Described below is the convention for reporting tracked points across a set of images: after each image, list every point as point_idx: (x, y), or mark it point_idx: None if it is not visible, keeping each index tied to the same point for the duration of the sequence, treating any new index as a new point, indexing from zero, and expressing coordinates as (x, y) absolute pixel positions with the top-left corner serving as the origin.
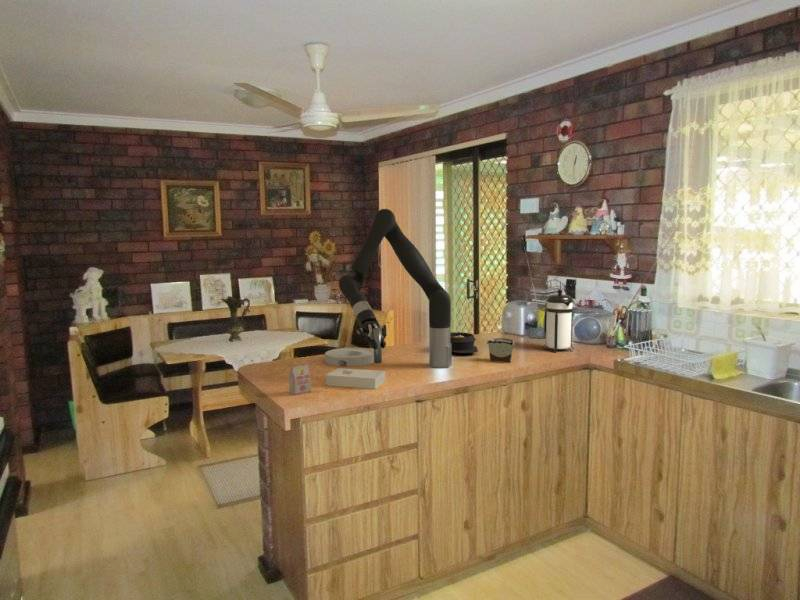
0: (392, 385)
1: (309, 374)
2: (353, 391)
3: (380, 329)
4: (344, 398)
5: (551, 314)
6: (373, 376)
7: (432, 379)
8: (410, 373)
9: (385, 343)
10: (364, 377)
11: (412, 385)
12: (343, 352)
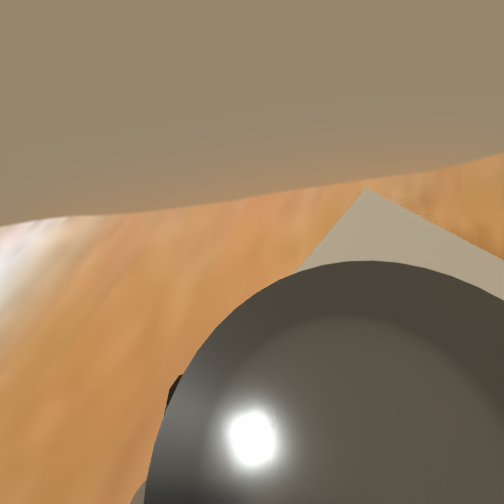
0: (263, 240)
1: None
2: (454, 220)
3: (239, 323)
4: (491, 157)
5: None
6: (367, 221)
7: (48, 261)
8: (45, 438)
9: (175, 389)
10: (419, 220)
11: (184, 211)
12: None
